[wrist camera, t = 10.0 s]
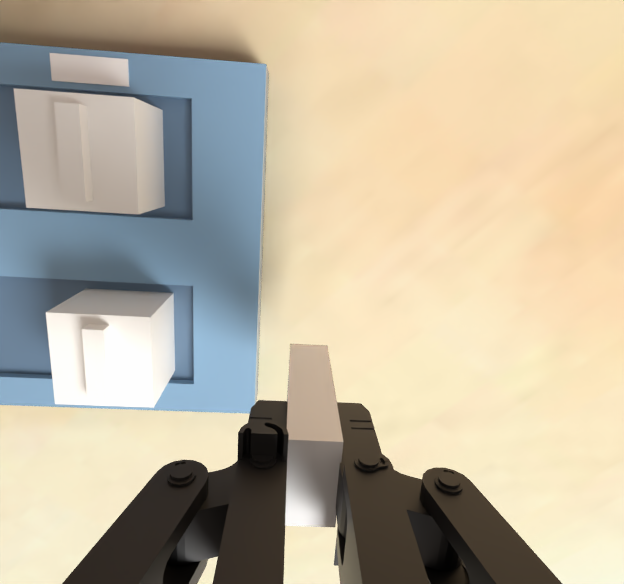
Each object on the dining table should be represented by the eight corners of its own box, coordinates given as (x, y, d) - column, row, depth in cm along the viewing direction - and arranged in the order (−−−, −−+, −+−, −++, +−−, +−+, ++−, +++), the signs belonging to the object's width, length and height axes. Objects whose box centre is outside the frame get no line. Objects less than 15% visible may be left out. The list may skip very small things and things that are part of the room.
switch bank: (-129, 379, 23) (-170, 399, 21) (-206, 36, 19) (-266, 20, 17) (257, 393, 24) (254, 414, 22) (268, 73, 20) (266, 63, 18)
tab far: (92, 367, 22) (47, 412, 18) (86, 288, 20) (36, 317, 17) (174, 370, 22) (149, 415, 18) (173, 292, 21) (145, 322, 17)
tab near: (72, 200, 19) (16, 208, 15) (64, 102, 18) (2, 85, 14) (164, 206, 20) (132, 215, 16) (162, 110, 19) (127, 94, 15)
